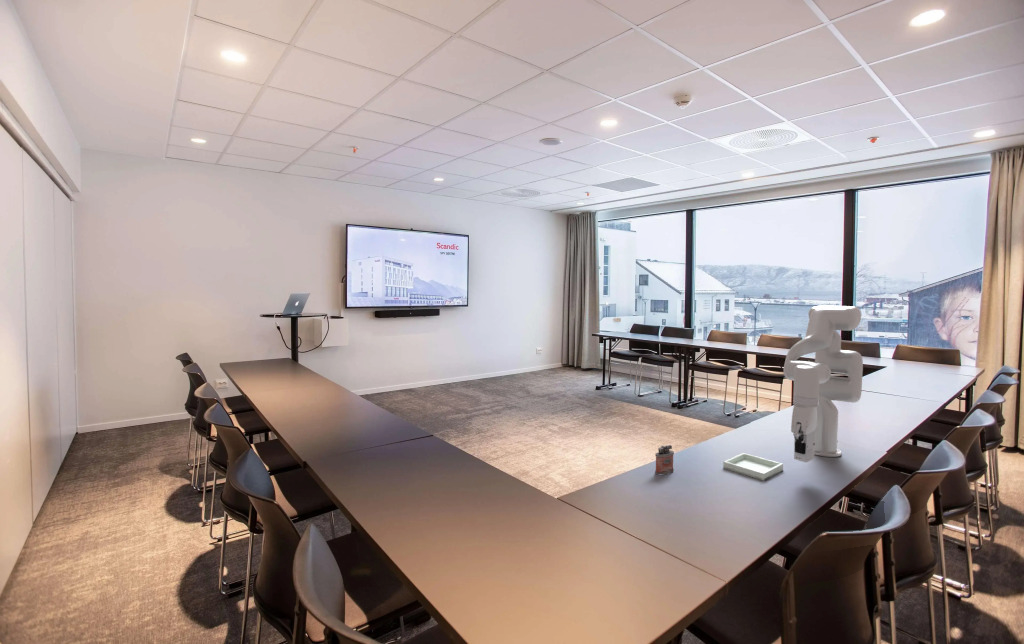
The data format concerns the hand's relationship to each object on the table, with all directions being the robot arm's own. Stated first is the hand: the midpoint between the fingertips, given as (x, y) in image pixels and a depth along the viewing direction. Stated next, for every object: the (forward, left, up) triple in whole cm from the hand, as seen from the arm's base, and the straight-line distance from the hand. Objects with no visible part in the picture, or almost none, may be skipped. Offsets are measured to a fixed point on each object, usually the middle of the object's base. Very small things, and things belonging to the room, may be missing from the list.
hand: (804, 450), depth 168 cm
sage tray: (+4, -16, -11) cm, 20 cm away
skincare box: (0, 0, -3) cm, 3 cm away
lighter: (+32, -35, -11) cm, 48 cm away
